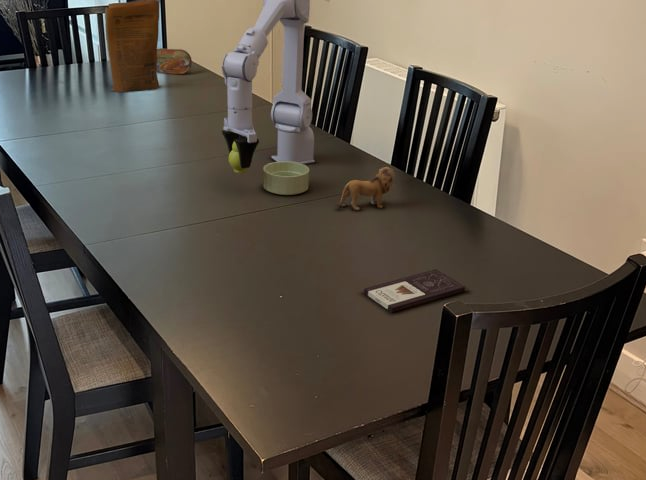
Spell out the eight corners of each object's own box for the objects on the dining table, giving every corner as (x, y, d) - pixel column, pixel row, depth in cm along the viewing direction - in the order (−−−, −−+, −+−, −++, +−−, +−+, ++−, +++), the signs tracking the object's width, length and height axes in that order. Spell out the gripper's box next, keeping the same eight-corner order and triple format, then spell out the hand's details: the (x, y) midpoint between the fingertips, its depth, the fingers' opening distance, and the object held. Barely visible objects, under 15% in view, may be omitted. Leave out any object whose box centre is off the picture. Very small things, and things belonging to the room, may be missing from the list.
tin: (150, 72, 302) (149, 48, 297) (153, 70, 304) (151, 46, 300) (190, 75, 300) (189, 50, 295) (193, 73, 303) (192, 49, 298)
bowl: (295, 177, 215) (296, 159, 212) (316, 192, 206) (317, 173, 204) (255, 183, 210) (255, 164, 207) (275, 199, 202) (275, 179, 199)
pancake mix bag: (167, 89, 283) (162, 0, 267) (113, 94, 275) (104, 3, 260) (161, 84, 288) (155, -3, 272) (107, 89, 280) (98, -1, 265)
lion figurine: (385, 198, 204) (388, 163, 199) (396, 206, 200) (399, 170, 195) (332, 206, 199) (334, 170, 194) (342, 214, 195) (345, 177, 190)
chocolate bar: (465, 286, 163) (392, 308, 155) (464, 291, 164) (391, 312, 155) (435, 269, 169) (364, 288, 161) (435, 273, 170) (363, 292, 162)
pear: (246, 165, 205) (245, 129, 200) (255, 173, 201) (255, 135, 196) (225, 168, 203) (224, 131, 198) (234, 176, 199) (234, 138, 194)
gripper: (212, 100, 197) (213, 156, 205) (236, 116, 187) (237, 175, 194) (239, 97, 200) (239, 153, 208) (265, 113, 189) (264, 171, 197)
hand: (240, 163), depth 201 cm, fingers closed on pear, 5 cm apart
